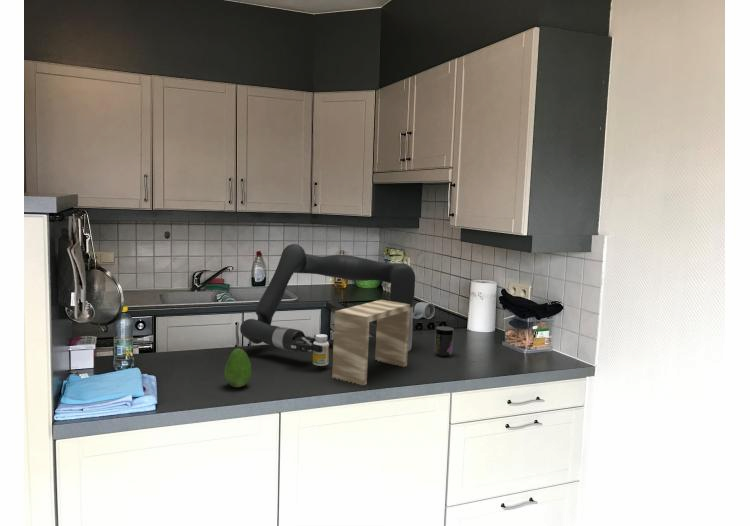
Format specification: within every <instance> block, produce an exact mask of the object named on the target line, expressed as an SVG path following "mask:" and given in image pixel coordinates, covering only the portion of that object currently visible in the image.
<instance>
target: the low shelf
mask: <svg viewBox="0 0 750 526" xmlns="http://www.w3.org/2000/svg"><path fill="white" fill-rule="evenodd" d="M409 316H410V304H405V303H398V302H392V301H389V300H385V299H378V300H374V301H370V302H366V303H362V304H358V305H353V306H350V307H347V308H346V307H345V308H342V309H338V310H334V318H333V319H334V320H333V348H332V349H333V350H332V374H331V377H332V379H334V378H336V379H335V380H338V379H340V380H339V381H342V380H343V382H346V381H348V382H347V383H350V382H352V383H351V384H354V383H356V384H355V385H358V384H359V386H362V387H363V385H364V386H365V385H368V384H367V383H368V382H367V381H368V366H369V365H368V361H369V358H368V357H369V340H370V323H371V322H375V321H376V330H375V331H376V333H375V334H376V335H375V355H374V361H375V360H377V362H380V361H381V362H380V363H383V364H389V365H395V366H397V365H398V366H399V367H402V368H405V367H407V366H408V352H409V351H408V335H409ZM398 366H397V367H398Z"/></svg>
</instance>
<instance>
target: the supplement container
mask: <svg viewBox="0 0 750 526" xmlns="http://www.w3.org/2000/svg"><path fill="white" fill-rule="evenodd" d="M454 331H455V330H454V328H453V327H450V326H443V325H441V326H440V325H439V326H436V327H435V337H434V355H435V356H436V357H437V358H438V357H439V358H450V357H452V355H453V344H454Z"/></svg>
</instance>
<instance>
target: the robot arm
mask: <svg viewBox="0 0 750 526" xmlns="http://www.w3.org/2000/svg"><path fill="white" fill-rule="evenodd" d="M294 274H314V275H321V276H325V277H332V278H337V279H341V280H342V279H343V280H347V281H355V282H356V281H357V282H360V281H361V282H362V281H363V282H365V281H366V282H367V281H377V282H384V283H388V284H390V286H389V287H390V288H389V290H390V291H389V299H388V301H392V302H398V303H405V304H410V316H409V335H408V352H410V351H411V350H412V347H413V346H412V344H413V329H414V328H413V326H414V325H413V320H414V318H413V313H414V300H415V289H416V288H415V287H416V274H415V271H414V269H413V267H412V266H411V265H409V264H407V263H404V262H403V263H399V262H397V263H396V262H381V261H377V260H372V259H370V258H369V259H368V258H366V257H365V258H364V257H359V256H354V255H346V254H333V255H322V256H320V255H319V256H318V255H314V254H309V253H306V252H305V249H304V247H302V246H301V245H299V244H297V243H292V244H287V246H286V247H284V249H283V250H282V252H281V254H280V258H279V261H278V263H277V266H276V269H275V271H274V274H273V276H272V278H271V280H270V282H269V284H268V285H267V286H266V289H265V291H264V293H263V294H262V295H261V297H260V300H259V301H258V303H257V305H256V306H255V310H254V313H255V314H256V315H257V319H255V318H248V319H245V320H244V321H242V322H241V324H240V326H239V331H240V334H241V335H242V336H243V337H244V338H245V339H247V340H248V341H250V342H251V343H253V344H256V345H258V344H261V343H264V344H266V345H269V346H273V347H276V348H279V349H282V350H287V351H291V352H296V353H298V352H301V353H303V352H304V353H308V352H313V351H315V352H319V353H321V352H322V348H323V347H322V346H320V345H316V344H313V343H314V342H315V341H316V340H315V336H316V335H317V334H314V335H313V336H311V335H306V334H305V333H304V332H303V331H302V330H300V329H296V328H291V327H290V328H289V327H285V326H278V325H272V323H273V322H272V321H273V317H274V315H275V313H276V312H277V310H278V308H279V306H280V304H281V302H282V300H283V297H284V294H285V292H286V289H287V288H288V287H287V286H288V284H289V282H290V280H291V278H292V276H293V275H294ZM327 342H329V350H330V349H331V350H332V349H333V343H334V341H329V340H327Z"/></svg>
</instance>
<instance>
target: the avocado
mask: <svg viewBox="0 0 750 526" xmlns="http://www.w3.org/2000/svg"><path fill="white" fill-rule="evenodd" d="M224 366H225V367H224V379H225V381H226V383H227V384H229V386H231V387H233V388H237V389H238V388H241V387H244V386H245V385H246V384H247V383H248V382H249V381H250V379H251V376H252V364H251V360H250V358H249V356H248V353H247V352H246V351H245V350H243V348H239V347H238V348H235V349H234V350H232V351H231V353H230V355H229V357H228V359H227V361H226V364H225V365H224Z"/></svg>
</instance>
